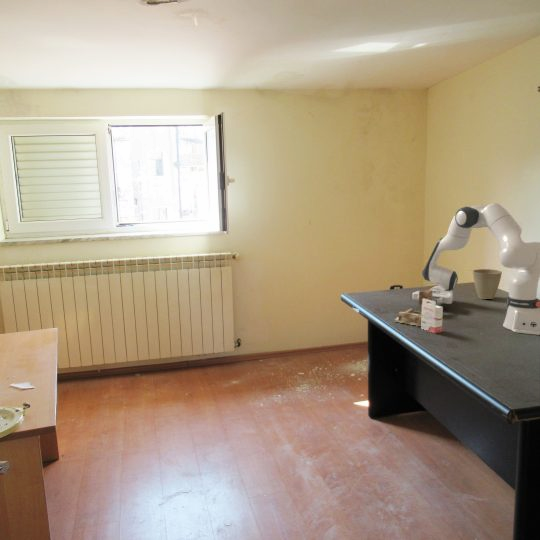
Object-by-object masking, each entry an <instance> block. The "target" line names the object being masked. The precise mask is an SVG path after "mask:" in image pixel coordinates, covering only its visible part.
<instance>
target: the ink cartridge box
mask: <svg viewBox="0 0 540 540" xmlns="http://www.w3.org/2000/svg"><path fill="white" fill-rule="evenodd" d="M427 302H430V303H431V304H430V303H427ZM443 311H444V307H443V306H441V305H437V304H436V302H435V301H432V300H428V299H424V298H423V300H422V314H421V327H420V328H421V330H423V329H424V330H423V331H426V330H427V331H426V332H429V333H431V332H432V333H431V334H437V333H442V332H443V316H444V315H443V313H444V312H443Z"/></svg>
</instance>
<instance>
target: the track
mask: <svg viewBox="0 0 540 540" xmlns="http://www.w3.org/2000/svg"><path fill="white" fill-rule="evenodd" d="M421 314H422V312H419V311H417V310H414V308H408V309H407V310H405V311H398V317H396V318H394V319H393V323H394V322H400V323H405V324H404V325H406V324H410V325H409V326H412V325H416V326H415V327H418V326H421ZM400 323H399V324H400Z"/></svg>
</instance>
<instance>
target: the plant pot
mask: <svg viewBox="0 0 540 540" xmlns="http://www.w3.org/2000/svg"><path fill="white" fill-rule="evenodd" d="M472 275H473V282H474V286H475V291H476V294H477V296H478V299H479V298H480V299H479V300H482V299H492V300H494V298H495V296H496V293H497V292H498V288H499V285H500V282H501V278H502V271H501V270H497V269H492V268H490V269H489V268H488V269H487V268H479V269H474V270H472Z"/></svg>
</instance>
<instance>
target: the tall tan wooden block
mask: <svg viewBox="0 0 540 540" xmlns="http://www.w3.org/2000/svg"><path fill="white" fill-rule="evenodd" d="M418 291H419V301H418V311H419V312H422V300H423V298H424V299H428V300H432V294H433V290H430V289H428V288H426V289H425V288H423V289H422V290H421V289H420V290H418ZM427 303H430V302H427ZM430 304H431V303H430Z"/></svg>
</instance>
